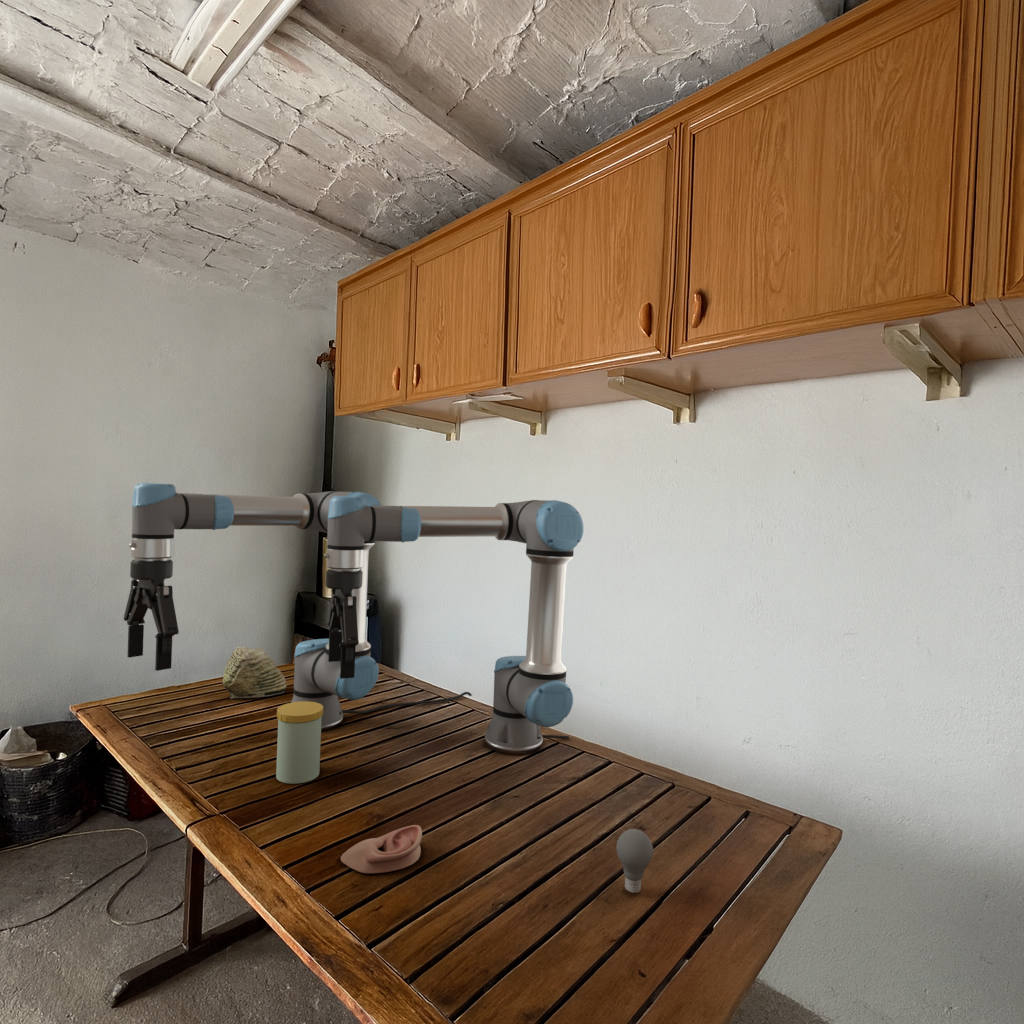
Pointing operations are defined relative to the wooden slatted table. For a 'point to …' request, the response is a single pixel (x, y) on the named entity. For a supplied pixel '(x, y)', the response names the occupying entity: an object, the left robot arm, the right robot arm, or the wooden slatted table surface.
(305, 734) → the jar
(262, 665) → the fossil
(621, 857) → the light bulb
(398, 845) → the anatomical model
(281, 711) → the lid
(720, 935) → the wooden slatted table surface
